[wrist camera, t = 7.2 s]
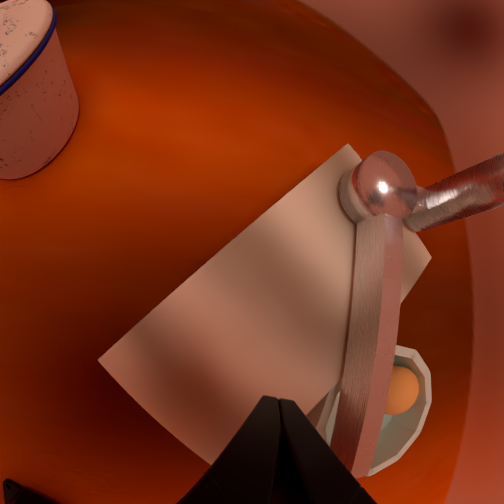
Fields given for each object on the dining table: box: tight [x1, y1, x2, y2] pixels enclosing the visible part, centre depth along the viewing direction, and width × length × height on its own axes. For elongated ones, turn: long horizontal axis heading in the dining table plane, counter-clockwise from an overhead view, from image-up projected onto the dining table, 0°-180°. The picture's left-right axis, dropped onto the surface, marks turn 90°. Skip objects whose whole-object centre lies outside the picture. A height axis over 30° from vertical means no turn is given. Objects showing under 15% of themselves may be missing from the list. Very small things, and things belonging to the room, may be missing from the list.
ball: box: [384, 366, 419, 415], centre depth 18 cm, size 4×4×4 cm
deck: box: [98, 144, 432, 465], centre depth 17 cm, size 18×9×4 cm, turn 132°
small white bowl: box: [306, 345, 432, 476], centre depth 17 cm, size 9×9×4 cm
